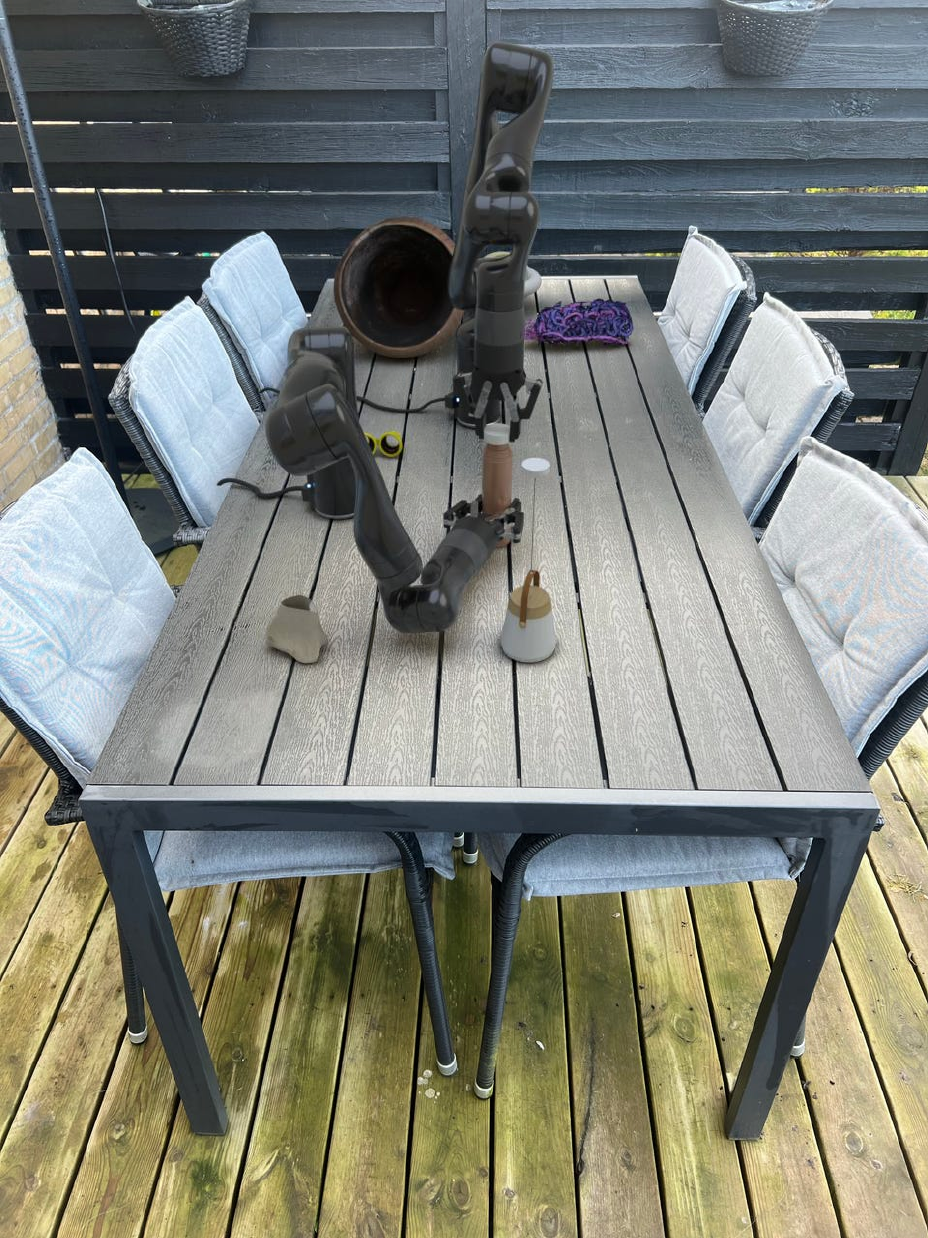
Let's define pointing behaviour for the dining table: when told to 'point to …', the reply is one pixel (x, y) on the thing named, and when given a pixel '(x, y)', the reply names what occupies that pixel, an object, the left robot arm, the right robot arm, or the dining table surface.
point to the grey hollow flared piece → (297, 629)
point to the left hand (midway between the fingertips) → (501, 499)
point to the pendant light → (529, 603)
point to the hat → (531, 276)
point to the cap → (497, 434)
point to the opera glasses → (385, 444)
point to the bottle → (497, 481)
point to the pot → (397, 288)
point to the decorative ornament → (582, 323)
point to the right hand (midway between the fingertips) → (497, 438)
